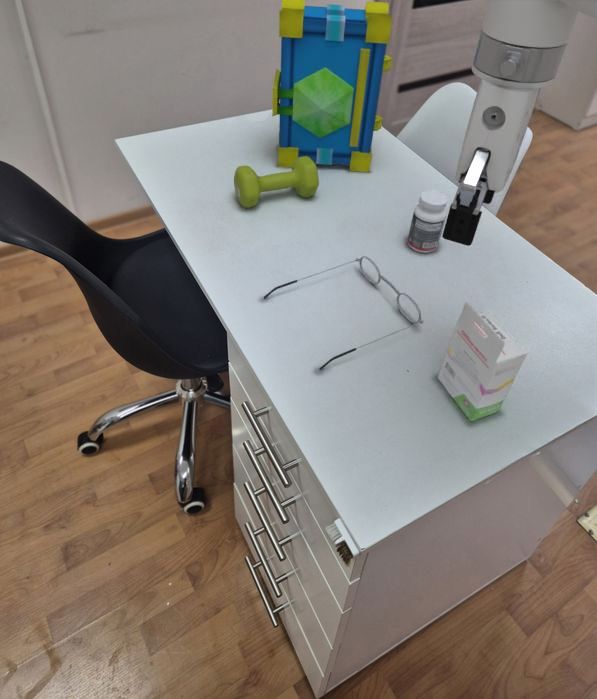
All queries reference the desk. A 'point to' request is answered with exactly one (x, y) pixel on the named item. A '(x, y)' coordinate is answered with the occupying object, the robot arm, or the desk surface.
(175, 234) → the desk surface
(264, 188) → the dumbbell
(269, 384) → the desk surface
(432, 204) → the pill bottle
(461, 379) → the ink box
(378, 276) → the eyeglasses
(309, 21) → the decorative book
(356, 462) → the desk surface
